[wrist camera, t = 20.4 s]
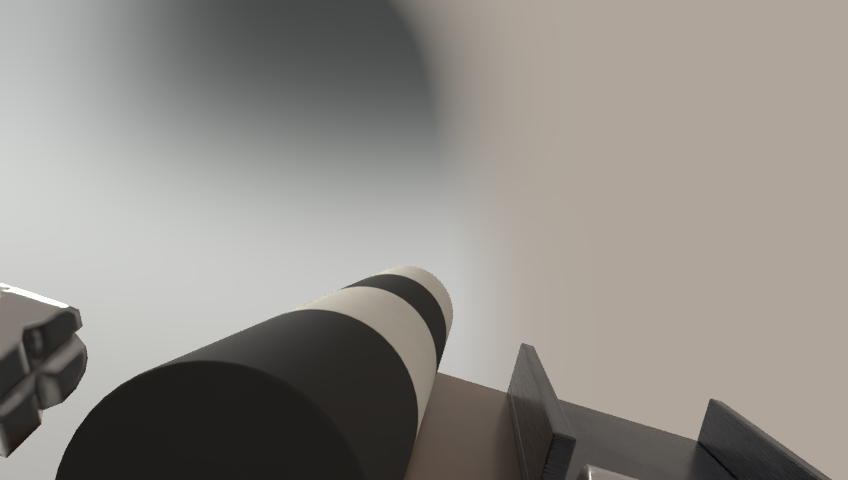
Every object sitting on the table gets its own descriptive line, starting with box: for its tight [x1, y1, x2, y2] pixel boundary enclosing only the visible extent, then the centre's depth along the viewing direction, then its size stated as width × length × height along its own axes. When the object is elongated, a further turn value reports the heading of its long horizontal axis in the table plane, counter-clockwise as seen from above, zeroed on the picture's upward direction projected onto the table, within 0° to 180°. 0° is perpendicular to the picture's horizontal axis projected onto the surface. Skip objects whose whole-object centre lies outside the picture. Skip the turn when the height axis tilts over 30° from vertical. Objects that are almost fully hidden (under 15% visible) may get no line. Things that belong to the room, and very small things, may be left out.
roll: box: [55, 266, 453, 480], centre depth 18 cm, size 20×4×4 cm, turn 175°
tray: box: [507, 343, 831, 480], centre depth 21 cm, size 9×12×2 cm
